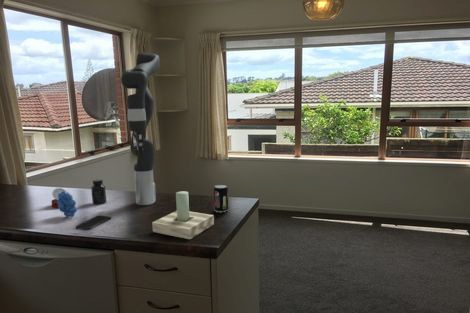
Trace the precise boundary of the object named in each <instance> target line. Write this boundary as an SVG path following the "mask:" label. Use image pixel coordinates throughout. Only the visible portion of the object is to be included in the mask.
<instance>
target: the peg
mask: <svg viewBox="0 0 470 313" xmlns="http://www.w3.org/2000/svg"><path fill="white" fill-rule="evenodd" d="M175 202H176V204H175V205H176V211H177V221H181V222H187V221H189V220H190V219H189V211H190V206H189V205H190V203H189V202H190V201H189V191H184V190H183V191H176V192H175Z"/></svg>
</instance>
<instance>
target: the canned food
mask: <svg viewBox="0 0 470 313" xmlns="http://www.w3.org/2000/svg"><path fill="white" fill-rule="evenodd" d="M62 191H66V192H67V193H69V194H71V193H70V192H68V190H65V189H64V188H61V187H60V188H54V189H53V191H52V193H51V194H52V195H51V196H52V197H53V198H54V199H52V200H51V201H50V202H51V208H52V209H60V208H59V207H58V204H57V201H58V199H59V198H58V194H59V193H61V192H62ZM72 199H73V200H74V198H73V196H72Z"/></svg>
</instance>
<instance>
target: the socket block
mask: <svg viewBox="0 0 470 313" xmlns="http://www.w3.org/2000/svg"><path fill="white" fill-rule="evenodd" d="M189 219H190V220H189V221H187V222H181V221H177V210H175V211H173V212H171V213H170V214H167V215H164V216H163V217H161V218H159V219H158V218H157V219H156V220H155V221H152V233H157V234H162V235H166V236H173V237H177V238H182V239H187V240H191V239H193V238H194V237H196V236H198V235H199V234H201V233H202V232H204V231H205V230H207V229H209V228H211V227H212V226H214V224H215V215H214V214H208V213H201V212H194V211H190V210H189Z"/></svg>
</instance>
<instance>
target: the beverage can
mask: <svg viewBox="0 0 470 313" xmlns="http://www.w3.org/2000/svg"><path fill="white" fill-rule="evenodd" d="M213 209H214V210H213V211H215V212H216V213H218V212H219V213H221V214H222V212H224V213H227V212H228V210H229V188H228V186H227V185H225V184H216V185H214V188H213ZM226 211H227V212H226Z"/></svg>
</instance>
